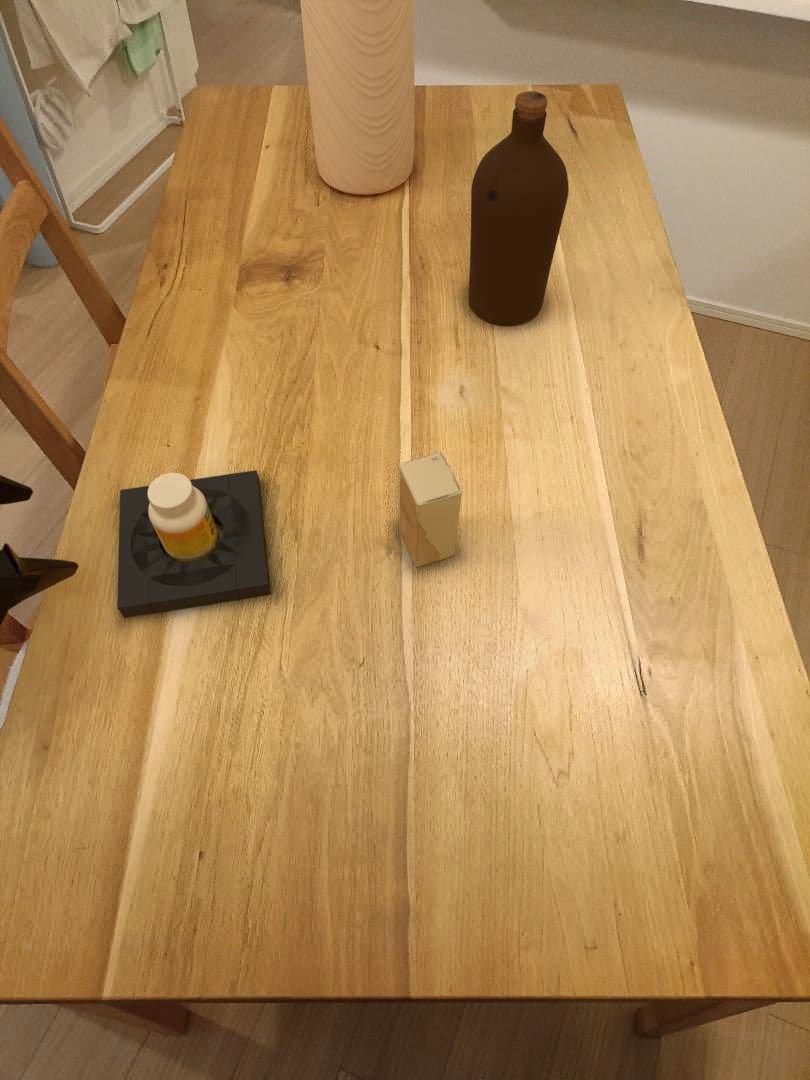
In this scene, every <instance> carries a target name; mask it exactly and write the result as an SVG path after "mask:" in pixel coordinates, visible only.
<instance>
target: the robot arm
mask: <svg viewBox="0 0 810 1080" xmlns="http://www.w3.org/2000/svg"><path fill="white" fill-rule="evenodd" d="M33 494H34V490H33V488H32V487H30V486H28V485H25V484H23V483H20V482H18V481H16V480H13V479H11V478H8V477H6V476H3V475H1V474H0V506H2V505H10V504H17V503H21V502H28V501H30V499H31V498H32V496H33ZM79 566H80V565H79V564H78V562H77V561H70V560H65V559H56V558H55V559H54V558H40V557H39V558H37V557H24V556H23V557H22V556H19V555H18V554H17V553H16V552H15V551H14V549H13V548H12V547H11V546H10V545H9V544H8V543H6V542H5V543H4V544H3V546H2V548H1V549H0V627H1V626H2V624H3V623H4V621H5V618H6V616H7V615H8V612H9V611H10V610H11V609H13V608H14V607H16V606H18V605H19V604H21V603H22V602H24V601H25V600H27V599H29V598H31V597H33V596H35V595H37V594H39V593H41V592H43V591H45V590H47V589H49V588H51V587H53V586H55V585H57V584H59V583H61V582H63V581H65V580H67V579H69V578H71V577H73V576H74V575H75V574H76V573H77V571H78V569H79Z"/></svg>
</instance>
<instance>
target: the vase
mask: <svg viewBox="0 0 810 1080" xmlns="http://www.w3.org/2000/svg"><path fill="white" fill-rule="evenodd" d="M300 12H301V13H300V14H301V23H302V25H301V26H302V35H303V45H304V55H305V66H306V77H307V87H308V96H309V107H310V119H311V129H312V138H313V147H314V154H315V161H316V167H317V171H318V174H319V176H320V178H321V179H322V180H323V181H324V182H325V183H326V184H327V185H329V186H330V187H331V188H333V189H334V190H335V189H336V190H337V191H340V192H343V193H348V194H351V195H358V196H360V195H361V196H367V195H368V196H369V195H377V194H383V193H385V192H389V191H391V190H394V189H396V188H397V187H399V186H400V185H402V184H403V183H405V182H406V180H407V179H408V178H409V177H410V176H411V174H412V172H413V169H414V167H413V166H414V159H415V0H300Z"/></svg>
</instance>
